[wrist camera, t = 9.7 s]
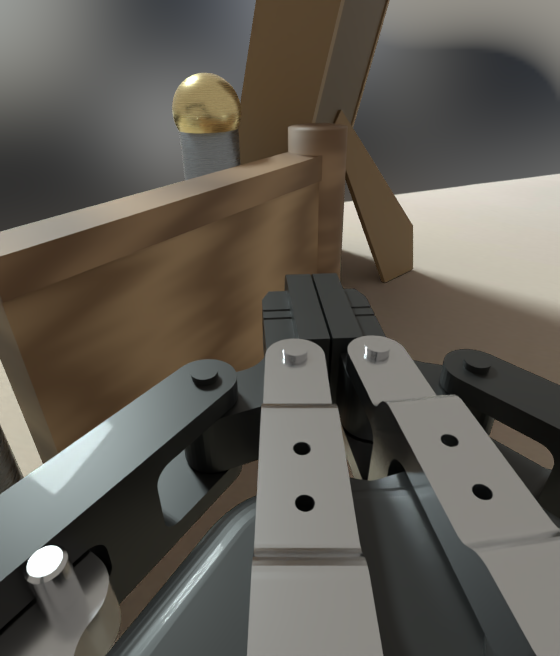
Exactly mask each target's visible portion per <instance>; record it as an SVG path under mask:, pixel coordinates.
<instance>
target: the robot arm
mask: <svg viewBox="0 0 560 656" xmlns="http://www.w3.org/2000/svg"><path fill="white" fill-rule="evenodd" d="M262 324H263V351H264V358H263V359H262V360H261V361H260V362H259V363H258V364H256V365H255V366H253V367H251V368H248V369H245V370H242V371H238V372H236V371H235V369H234V368H233V367H232V366H231V365H230V364H228V363H226V362H223V361H220V360H215V359H203V360H197V361H193V362H190V363H188V364H186V365H184V366H182V367H181V368H180V369H178V370H177V371H175V372H174V373H172V374H171V375H170V376H168V377H167V378H165V379H164V380H162V381H161V382H160V383H158V384H157V385H155V386H154V387H152V388H151V389H150V390H148V391H147V392H145V393H144V394H142V395H141V396H140V397H138V398H137V399H135V400H134V401H133V402H131V403H130V404H128V405H127V406H125V407H124V408H123V409H121V410H120V411H118V412H117V413H115V414H114V415H113V416H111V417H110V418H108V419H107V420H105V421H104V422H103V423H101V424H100V425H98V426H97V427H95V428H94V429H93V430H91V431H90V432H88V433H87V434H86V435H84V436H83V437H81V438H80V439H78V440H77V441H76V442H74V443H73V444H71V445H70V446H68V447H67V448H66V449H64V450H63V451H61V452H60V453H58V454H57V455H56V456H54V457H53V458H51V459H50V460H48V461H47V462H46V463H44V464H43V465H41V466H40V467H38V468H37V469H36V470H34V471H33V472H31V473H30V474H29V475H27V476H26V477H24V478H23V479H21V480H20V481H19V482H17V483H16V484H14V485H13V486H11V487H10V488H9V489H7V490H6V491H4V492H3V493H1V494H0V656H560V385H558V384H555V383H553V382H551V381H549V380H546V379H544V378H542V377H540V376H537V375H535V374H533V373H531V372H528V371H526V370H524V369H522V368H519V367H517V366H515V365H513V364H510V363H508V362H506V361H504V360H501V359H499V358H497V357H495V356H492V355H490V354H487V353H485V352H481V351H477V350H471V349H460V350H455V351H452V352H450V353H448V354H447V355H446V356H445V358H444V362H443V365H437V364H431V363H424V362H419V361H415V360H412V358H411V357H410V355H409V354H408V353H407V351H406V350H405V348H404V347H403V346H402V345H401V344H400V343H398V342H396V341H394V340H392V339H389V338H386V336H385V334H384V332H383V330H382V328H381V326H380V324H379V322H378V320H377V318H376V316H374V312H373V310H372V308H370V304H369V302H368V300H367V298H366V297H365V296H364V295H363V294H361V293H360V292H358V291H357V290H356V289H343V287H342V285H341V282H340V280H339V278H338V275H337V273H322V274H311V275H310V274H291V275H285V291H269V292H268V293H267V294H266V296H265V297H264V298H263V300H262ZM339 415H340V417H339ZM340 419H341V421H340ZM495 419H496V420H498V421H500V422H501V423H503V424H505V425H507V426H509V427H511V428H513V429H515V430H516V431H518V432H520V433H522V434H524V435H526V436H528V437H530V438H532V439H533V440H535V441H537V442H539V443H541V444H542V445H544V446H545V447H546V448H547V449H548V450H549V451H550V452H551V454H552V455H553V458H554V467H553V469H552V470H550V469H546V468H544V467H542V466H540V465H538V464H536V463H535V462H533V461H531V460H529V459H528V458H526V457H524V456H522V455H520V454H519V453H517V452H515V451H513V450H512V449H510V448H508V447H506V446H504V445H503V444H501V443H499V442H497V441H496V440H494V439H492V438H490V437H489V435H490V432H491V429H492V426H493V423H494V420H495ZM346 457H347V460H348V463H349V465H350V468H351V471H352V474H353V477H354V478H349V473H348V467H347V460H346ZM258 459H259V462H258V482H257V496H254V497H252V498H250V499H247V500H246V501H244V502H242V503H240V504H238V505H237V506H235V507H234V508H233V509H231V510H230V511H228V512H227V513H226V514H225V515H224V516H223V517H222V518H221V519H219V520H218V521H217V522H216V523H215V524H214V525H213V526H212V528H211V529H210V530H209V531H208V532H207V533H206V535H205V536H204V537H203V538H202V539H201V541H200V542H199V543H198V544H197V546H196V547H195V548H194V549H193V550H192V552H191V553H190V554H189V555H188V556H187V558H186V559H185V560H184V561H183V562H182V564H181V565H180V566H179V567H178V569H177V570H176V571H175V572H174V573H173V575H172V576H171V577H170V578H169V579H168V581H167V582H166V583H165V584H164V585H163V587H162V588H161V589H160V590H159V592H158V593H157V594H156V595H155V596H154V598H153V599H152V600H151V601H150V602H149V604H148V605H147V606H146V607H145V608H144V610H143V611H142V612H141V613H140V614H139V616H138V617H137V618H136V619H135V621H134V622H133V623H132V624H131V625H130V627H129V628H128V629H127V630H126V631H125V633H124V634H123V635H122V636H121V637H120V639H119V640H118V641H117V642H116V643H115V645H114V646H113V647H112V645H113V643H114V641H115V639H116V637H117V634H118V632H119V628H120V623H121V612H120V607H119V604H120V603H121V602H122V601H123V600H124V598H125V597H126V596H127V595H128V594H129V593H130V592H131V591H132V590H133V589H134V588H135V587H136V586H137V585H138V583H139V582H140V581H141V580H142V579H143V578H144V577H145V576H146V575H147V574H148V573H149V572H150V571H151V569H152V568H153V567H154V566H155V565H156V564H157V563H158V562H159V561H160V560H161V559H162V558H163V557H164V556H165V554H166V553H167V552H168V551H169V550H170V549H171V548H172V547H173V546H174V545H175V544H176V543H177V542H178V540H179V539H180V538H181V537H182V536H183V535H184V534H185V533H186V532H187V531H188V530H189V529H190V528H191V527H192V525H193V524H194V523H195V522H196V521H197V520H198V519H199V518H200V517H201V516H202V515H203V514H204V513H205V511H206V510H207V509H208V508H209V507H210V506H211V505H212V504H213V503H214V502H215V501H216V500H217V499H218V498H219V496H220V495H221V494H222V493H223V492H224V491H225V490H226V489H227V488H228V487H229V486H230V485H231V484H232V482H233V481H234V480H235V479H236V478H237V477H238V476H239V474H240V472H241V469H242V465H243V464H246V463H249V462H252V461H255V460H258ZM111 647H112V648H111ZM110 648H111V649H110ZM109 650H110V651H109ZM108 651H109V652H108Z"/></svg>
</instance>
